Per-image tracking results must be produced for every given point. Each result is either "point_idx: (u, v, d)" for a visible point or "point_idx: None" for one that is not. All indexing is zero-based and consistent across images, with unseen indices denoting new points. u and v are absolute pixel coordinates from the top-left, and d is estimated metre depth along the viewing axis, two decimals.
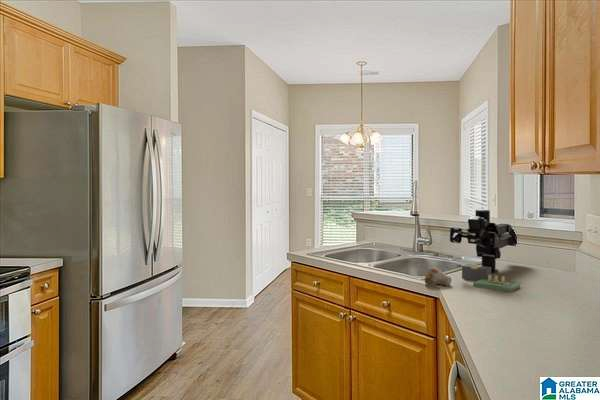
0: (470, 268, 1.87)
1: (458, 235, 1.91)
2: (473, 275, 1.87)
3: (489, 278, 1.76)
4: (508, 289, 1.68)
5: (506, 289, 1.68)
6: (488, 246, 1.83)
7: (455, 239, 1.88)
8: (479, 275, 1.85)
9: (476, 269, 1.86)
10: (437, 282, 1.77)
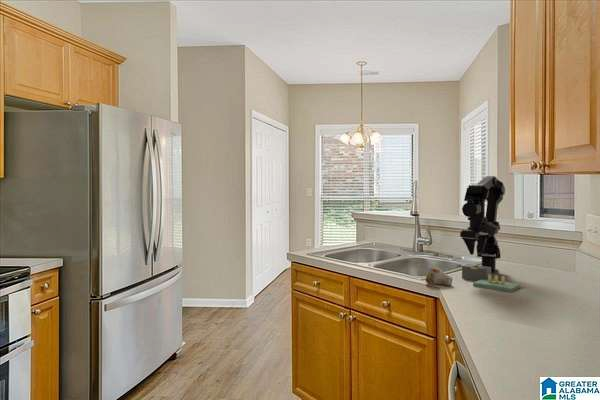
0: (470, 268, 1.87)
1: None
2: (473, 275, 1.87)
3: (489, 278, 1.76)
4: (508, 289, 1.68)
5: (506, 289, 1.68)
6: None
7: None
8: (479, 275, 1.85)
9: (476, 269, 1.86)
10: (438, 282, 1.77)
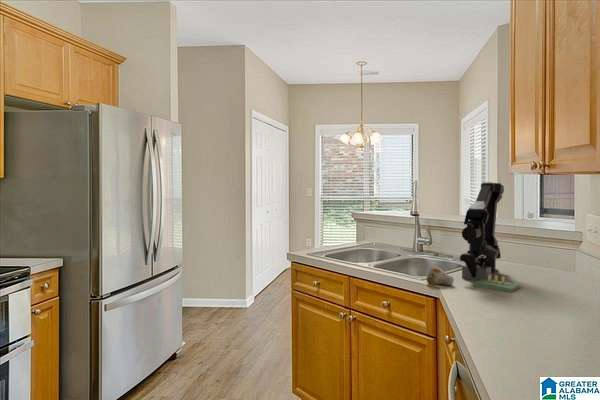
0: None
1: None
2: None
3: (489, 278, 1.76)
4: (508, 289, 1.68)
5: (506, 289, 1.68)
6: None
7: None
8: (479, 275, 1.85)
9: (476, 269, 1.86)
10: (439, 282, 1.78)
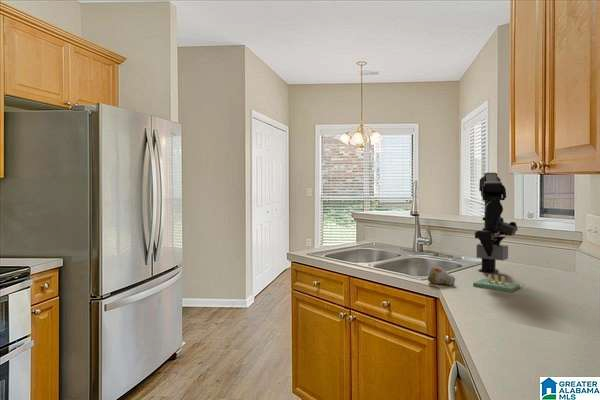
0: None
1: None
2: None
3: (489, 278, 1.76)
4: (508, 289, 1.68)
5: (506, 289, 1.68)
6: None
7: None
8: (495, 254, 1.73)
9: (492, 247, 1.74)
10: (440, 281, 1.78)
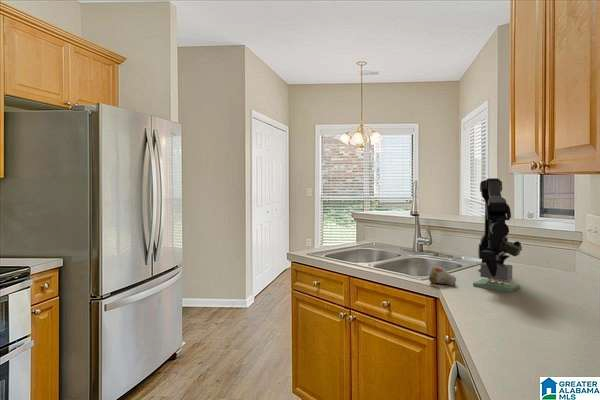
0: None
1: None
2: None
3: (489, 278, 1.76)
4: (508, 289, 1.68)
5: (506, 289, 1.68)
6: None
7: None
8: (499, 274, 1.71)
9: None
10: (441, 281, 1.78)
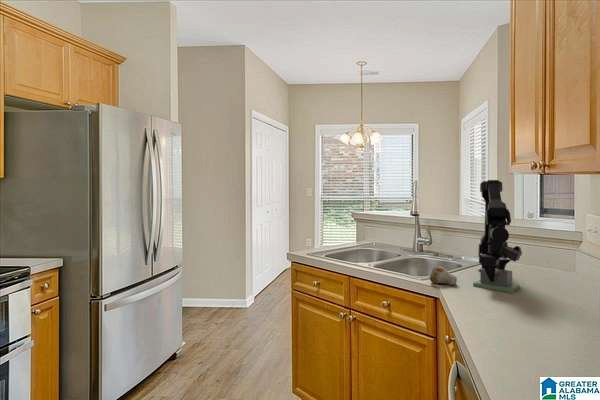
0: None
1: None
2: None
3: None
4: (508, 289, 1.68)
5: (506, 289, 1.68)
6: None
7: None
8: (499, 279, 1.72)
9: (496, 273, 1.72)
10: (442, 281, 1.78)
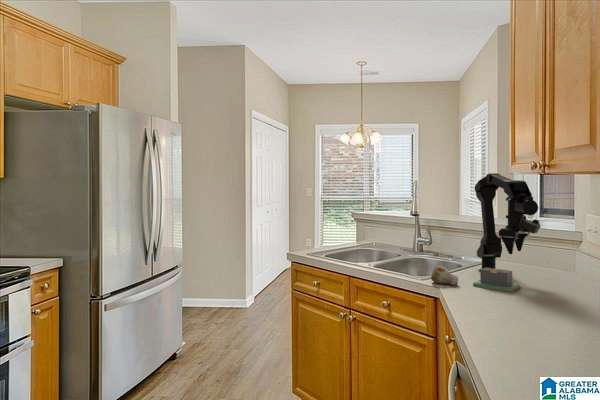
0: (489, 272, 1.74)
1: None
2: (492, 280, 1.73)
3: None
4: (508, 289, 1.68)
5: (506, 289, 1.68)
6: None
7: None
8: (499, 279, 1.72)
9: (496, 273, 1.72)
10: (443, 281, 1.79)
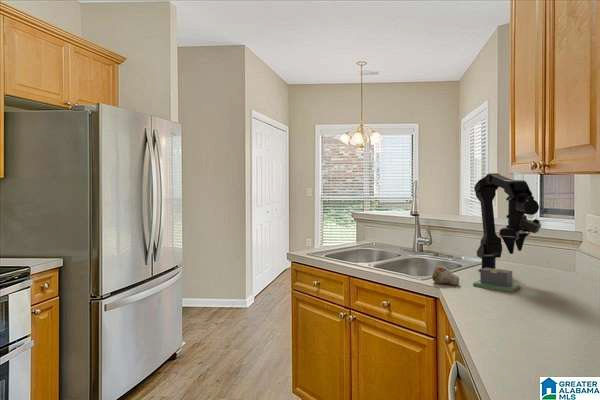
0: (489, 272, 1.74)
1: None
2: (492, 280, 1.73)
3: None
4: (508, 289, 1.68)
5: (506, 289, 1.68)
6: None
7: None
8: (499, 279, 1.72)
9: (496, 273, 1.72)
10: (444, 281, 1.79)
